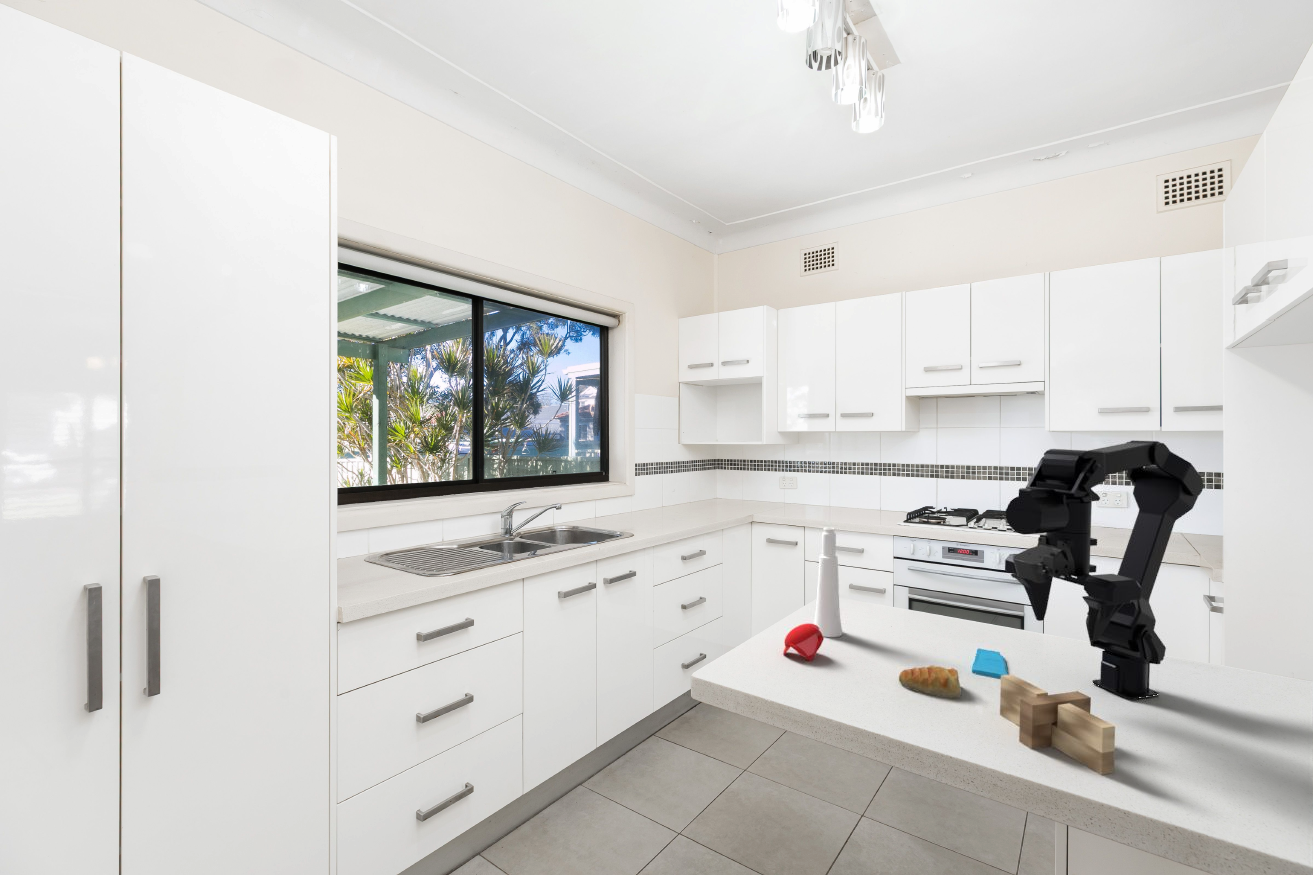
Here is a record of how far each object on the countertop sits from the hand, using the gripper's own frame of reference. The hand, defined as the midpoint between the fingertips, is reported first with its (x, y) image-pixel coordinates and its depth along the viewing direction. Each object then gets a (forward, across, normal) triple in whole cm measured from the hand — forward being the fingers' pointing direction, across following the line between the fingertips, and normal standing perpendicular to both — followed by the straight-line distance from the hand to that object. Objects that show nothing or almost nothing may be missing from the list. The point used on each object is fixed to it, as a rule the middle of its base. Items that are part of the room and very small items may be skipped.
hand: (1065, 629), depth 94 cm
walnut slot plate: (+12, +8, -10) cm, 18 cm away
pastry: (+12, -10, -16) cm, 22 cm away
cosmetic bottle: (+12, -38, -19) cm, 44 cm away
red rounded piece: (+12, -28, -30) cm, 43 cm away
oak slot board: (+12, +8, -11) cm, 18 cm away
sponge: (+13, -16, +2) cm, 20 cm away
